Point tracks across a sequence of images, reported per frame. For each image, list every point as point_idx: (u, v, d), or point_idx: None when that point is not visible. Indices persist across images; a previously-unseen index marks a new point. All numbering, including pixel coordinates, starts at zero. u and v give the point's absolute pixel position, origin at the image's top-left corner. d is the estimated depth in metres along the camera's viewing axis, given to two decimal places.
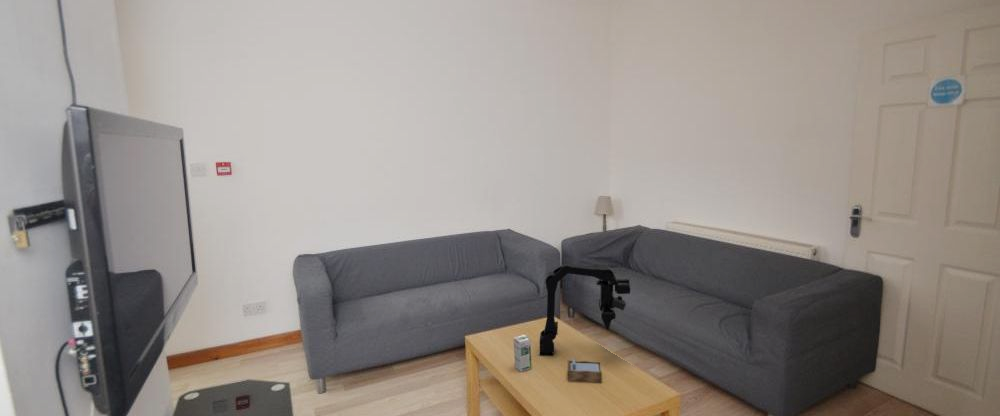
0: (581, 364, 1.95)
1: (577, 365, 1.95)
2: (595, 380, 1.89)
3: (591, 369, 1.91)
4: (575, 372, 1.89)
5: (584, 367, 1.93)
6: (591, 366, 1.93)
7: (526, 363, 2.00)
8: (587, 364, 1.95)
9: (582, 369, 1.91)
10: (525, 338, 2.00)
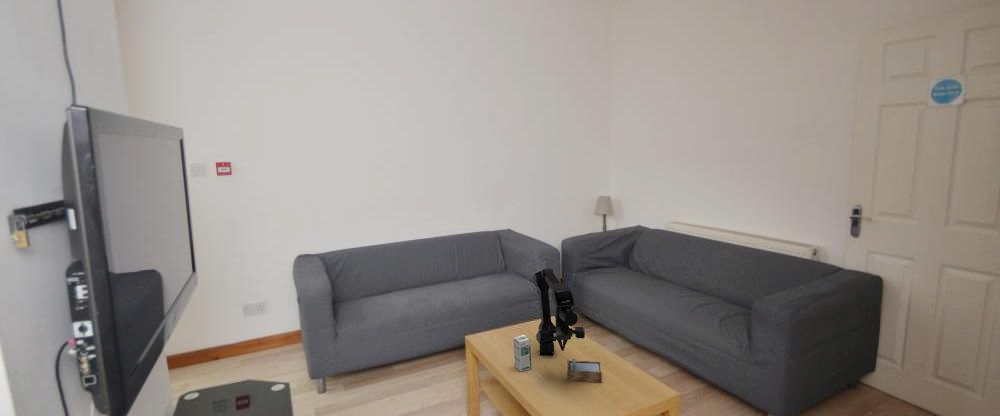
0: (581, 364, 1.95)
1: (577, 365, 1.95)
2: (595, 380, 1.89)
3: (591, 369, 1.91)
4: (575, 372, 1.89)
5: (584, 367, 1.93)
6: (591, 366, 1.93)
7: (526, 363, 2.00)
8: (587, 364, 1.95)
9: (582, 369, 1.91)
10: (525, 338, 2.00)
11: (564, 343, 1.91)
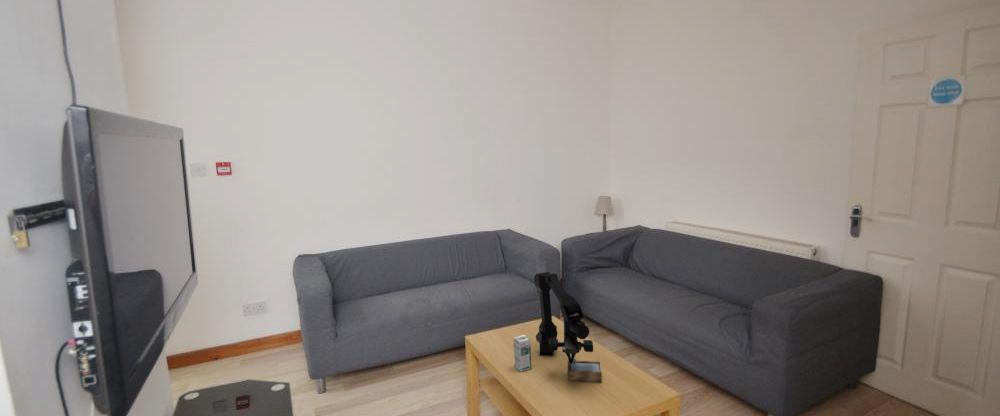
0: (581, 364, 1.95)
1: (577, 365, 1.95)
2: (595, 380, 1.89)
3: (591, 369, 1.91)
4: (575, 372, 1.89)
5: (584, 367, 1.93)
6: (591, 366, 1.93)
7: (526, 363, 2.00)
8: (587, 364, 1.95)
9: (582, 369, 1.91)
10: (525, 338, 2.00)
11: (572, 356, 1.92)
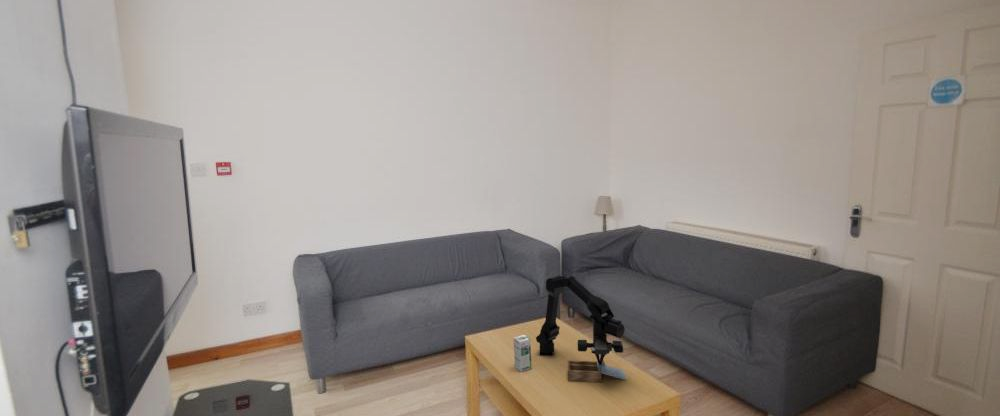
0: (607, 367, 1.94)
1: None
2: (595, 380, 1.89)
3: (618, 374, 1.91)
4: (575, 372, 1.89)
5: (611, 370, 1.92)
6: (617, 371, 1.93)
7: (526, 363, 2.00)
8: (613, 368, 1.95)
9: (610, 372, 1.90)
10: (525, 338, 2.00)
11: (602, 357, 1.90)
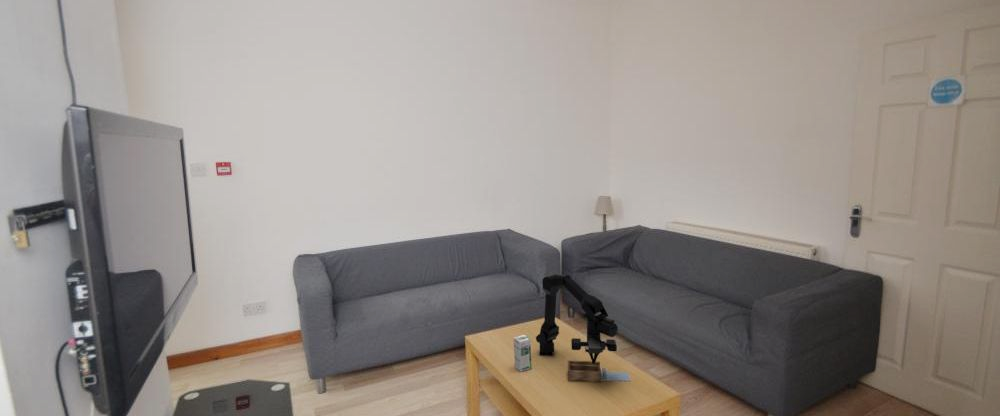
0: (611, 373, 1.95)
1: (607, 374, 1.94)
2: (595, 380, 1.89)
3: (622, 378, 1.90)
4: (575, 372, 1.89)
5: (615, 376, 1.92)
6: (621, 375, 1.93)
7: (526, 363, 2.00)
8: (617, 373, 1.94)
9: (613, 378, 1.90)
10: (525, 338, 2.00)
11: (595, 356, 1.90)
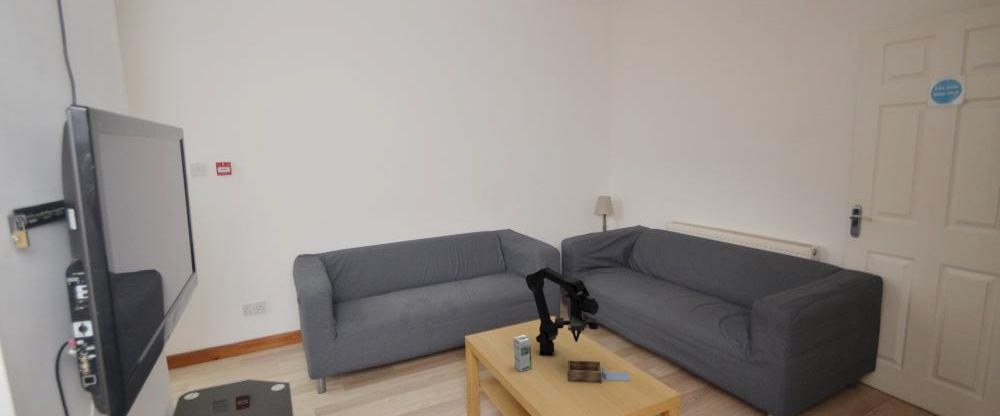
0: (611, 373, 1.95)
1: (606, 374, 1.94)
2: (595, 380, 1.89)
3: (622, 378, 1.90)
4: (575, 372, 1.89)
5: (614, 376, 1.92)
6: (621, 375, 1.93)
7: (526, 363, 2.00)
8: (617, 373, 1.95)
9: (613, 378, 1.91)
10: (525, 338, 2.00)
11: (578, 334, 1.98)
